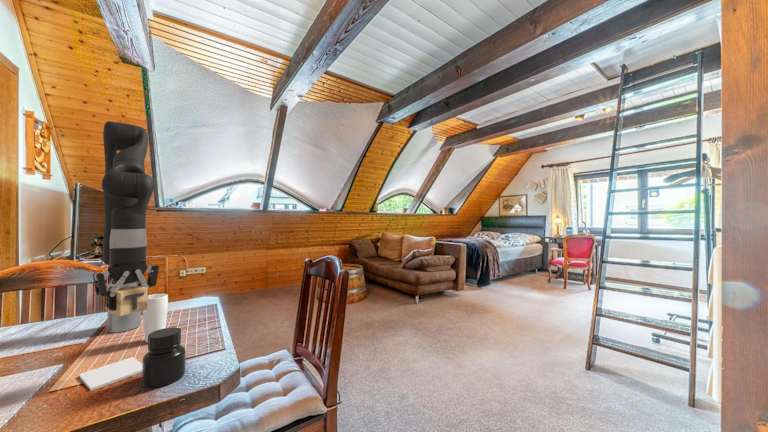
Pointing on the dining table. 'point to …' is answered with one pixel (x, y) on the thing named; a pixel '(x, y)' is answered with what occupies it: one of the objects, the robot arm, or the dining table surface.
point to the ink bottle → (163, 358)
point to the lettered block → (130, 300)
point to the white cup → (155, 313)
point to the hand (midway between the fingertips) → (127, 306)
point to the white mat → (111, 373)
